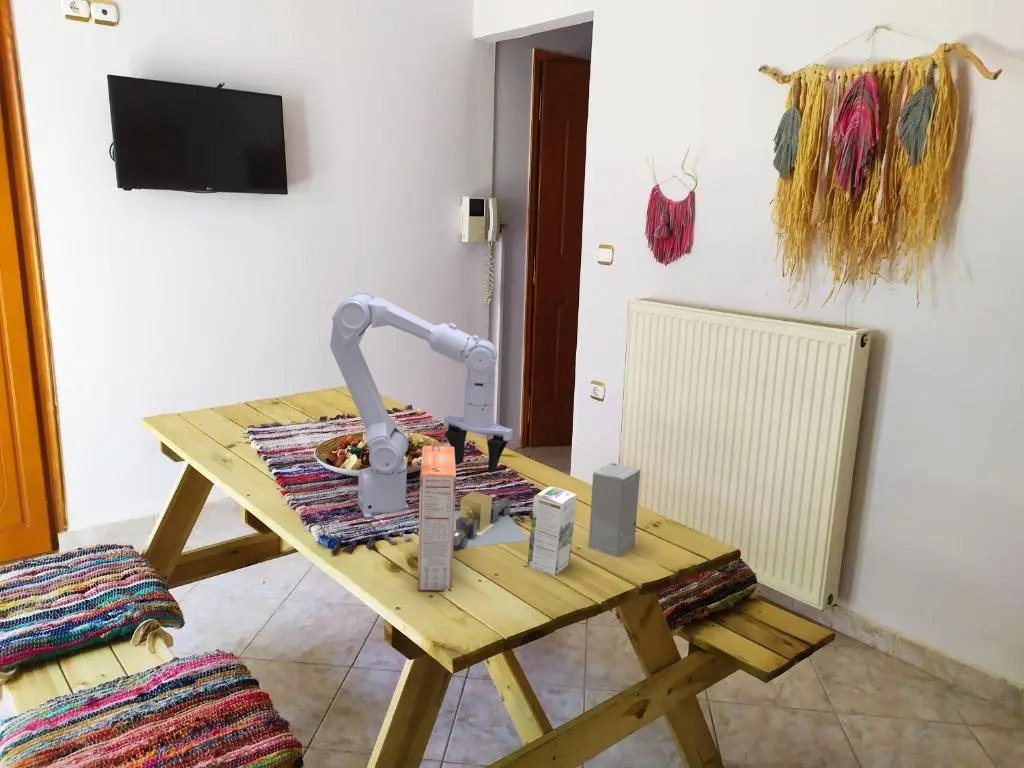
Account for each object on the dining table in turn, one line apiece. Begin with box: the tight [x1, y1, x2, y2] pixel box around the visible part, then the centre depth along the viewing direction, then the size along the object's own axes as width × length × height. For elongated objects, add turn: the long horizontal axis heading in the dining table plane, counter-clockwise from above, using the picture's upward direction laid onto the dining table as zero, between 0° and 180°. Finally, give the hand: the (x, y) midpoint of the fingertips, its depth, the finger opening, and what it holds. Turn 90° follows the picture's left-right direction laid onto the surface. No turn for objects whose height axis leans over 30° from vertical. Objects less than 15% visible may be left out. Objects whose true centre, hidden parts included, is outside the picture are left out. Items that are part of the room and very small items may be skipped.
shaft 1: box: [453, 517, 477, 550], centre depth 148 cm, size 7×4×3 cm, turn 161°
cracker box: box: [417, 445, 457, 592], centre depth 136 cm, size 14×6×21 cm, turn 5°
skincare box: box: [588, 462, 641, 558], centre depth 150 cm, size 8×7×16 cm
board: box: [453, 510, 530, 550], centre depth 156 cm, size 16×16×1 cm
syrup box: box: [526, 486, 578, 576], centre depth 141 cm, size 6×6×14 cm
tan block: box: [459, 490, 493, 533], centre depth 155 cm, size 5×4×6 cm
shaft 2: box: [490, 497, 512, 524], centre depth 161 cm, size 7×4×3 cm, turn 146°
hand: (475, 467), depth 160 cm, fingers open, 7 cm apart
